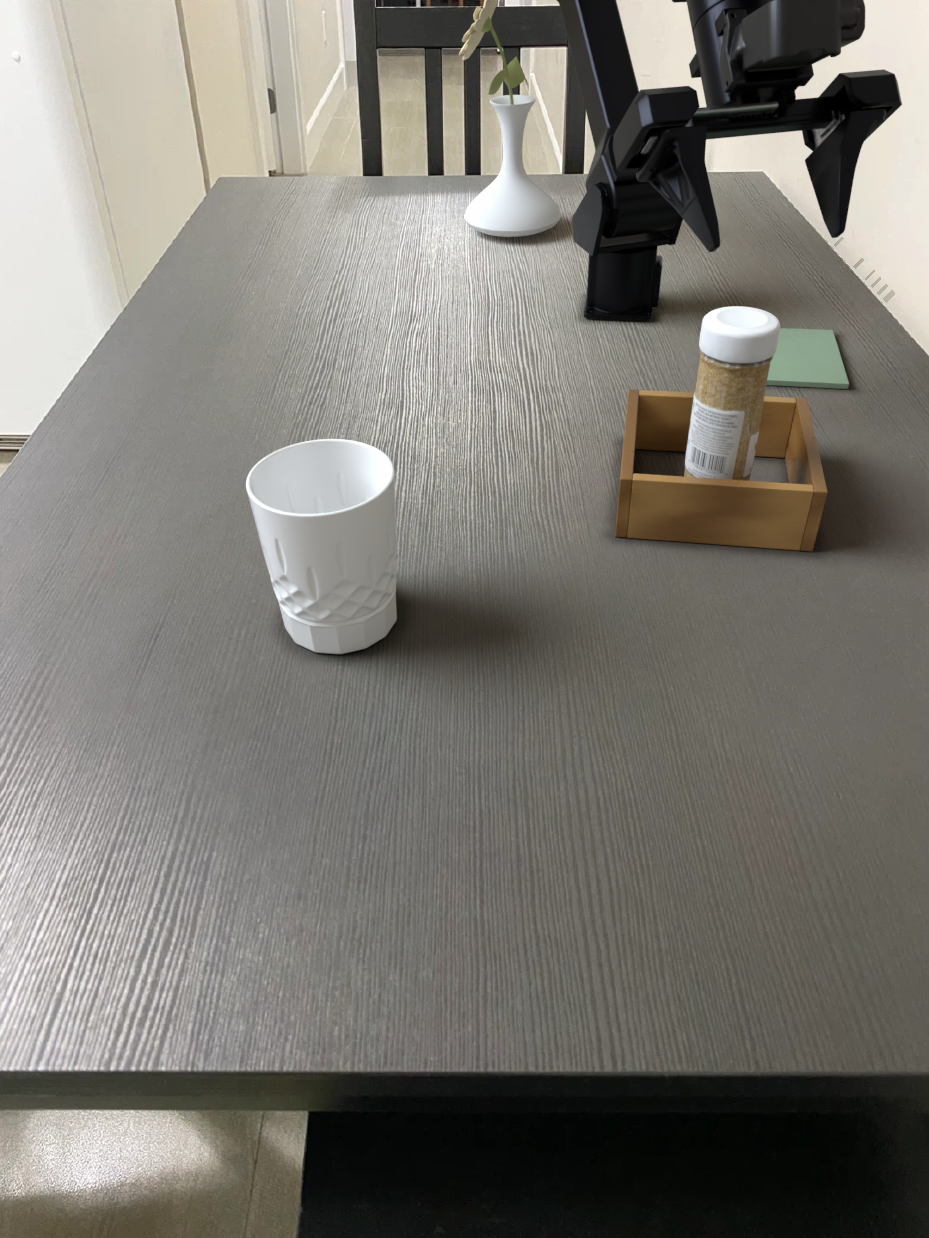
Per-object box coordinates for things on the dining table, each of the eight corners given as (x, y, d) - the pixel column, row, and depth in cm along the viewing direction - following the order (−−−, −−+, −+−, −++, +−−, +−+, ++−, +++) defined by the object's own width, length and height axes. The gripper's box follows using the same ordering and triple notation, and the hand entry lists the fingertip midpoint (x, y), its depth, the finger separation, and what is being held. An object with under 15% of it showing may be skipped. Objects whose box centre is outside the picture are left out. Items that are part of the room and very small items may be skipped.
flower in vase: (499, 210, 117) (497, -32, 101) (578, 224, 112) (590, -29, 96) (436, 240, 109) (424, -18, 93) (518, 257, 104) (520, -13, 88)
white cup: (280, 583, 59) (252, 443, 53) (405, 574, 59) (392, 433, 53) (271, 668, 53) (238, 521, 47) (409, 657, 53) (396, 509, 47)
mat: (711, 382, 79) (712, 377, 78) (708, 330, 87) (709, 325, 87) (848, 389, 77) (849, 383, 77) (831, 335, 85) (833, 330, 85)
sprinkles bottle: (759, 512, 64) (798, 320, 55) (710, 535, 62) (743, 340, 53) (710, 483, 67) (740, 297, 58) (662, 504, 65) (686, 315, 56)
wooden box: (614, 537, 62) (619, 478, 59) (623, 443, 71) (628, 389, 69) (812, 552, 60) (828, 492, 57) (794, 453, 69) (807, 398, 67)
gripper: (648, -62, 55) (697, 197, 54) (932, -78, 58) (980, 167, 57) (593, 60, 66) (633, 276, 65) (833, 41, 69) (873, 248, 68)
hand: (777, 242), depth 64 cm, fingers open, 9 cm apart
